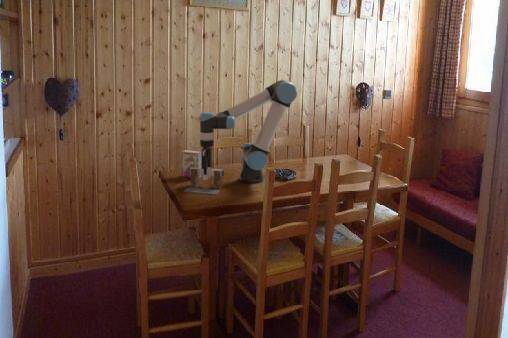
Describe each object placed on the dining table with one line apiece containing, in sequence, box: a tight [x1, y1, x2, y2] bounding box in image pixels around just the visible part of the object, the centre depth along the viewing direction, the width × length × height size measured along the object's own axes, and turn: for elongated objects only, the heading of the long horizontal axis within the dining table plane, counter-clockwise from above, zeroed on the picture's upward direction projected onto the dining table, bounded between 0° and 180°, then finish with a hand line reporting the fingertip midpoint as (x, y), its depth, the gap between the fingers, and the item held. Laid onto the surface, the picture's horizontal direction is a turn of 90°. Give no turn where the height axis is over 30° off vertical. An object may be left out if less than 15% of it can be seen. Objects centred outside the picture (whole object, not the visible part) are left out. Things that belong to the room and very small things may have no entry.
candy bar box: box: [181, 149, 202, 179], centre depth 313 cm, size 11×5×16 cm, turn 70°
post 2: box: [213, 167, 223, 190], centre depth 293 cm, size 3×7×11 cm, turn 168°
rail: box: [189, 167, 225, 178], centre depth 294 cm, size 20×4×4 cm, turn 78°
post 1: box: [190, 166, 200, 188], centre depth 296 cm, size 3×7×11 cm, turn 168°
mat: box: [183, 186, 221, 196], centre depth 285 cm, size 19×8×1 cm, turn 78°
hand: (206, 178), depth 295 cm, fingers closed on rail, 3 cm apart
